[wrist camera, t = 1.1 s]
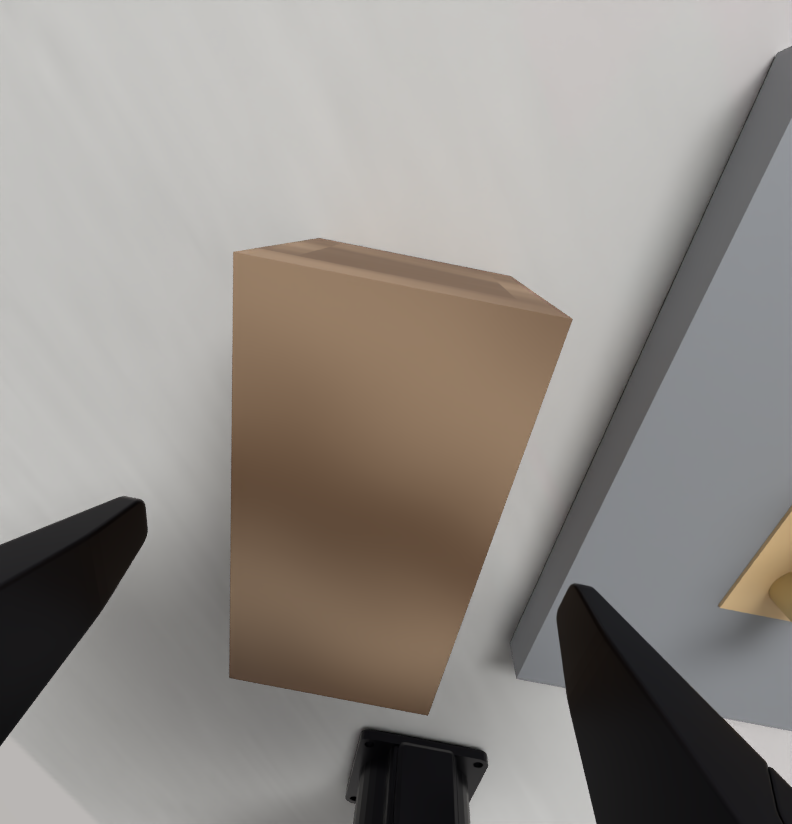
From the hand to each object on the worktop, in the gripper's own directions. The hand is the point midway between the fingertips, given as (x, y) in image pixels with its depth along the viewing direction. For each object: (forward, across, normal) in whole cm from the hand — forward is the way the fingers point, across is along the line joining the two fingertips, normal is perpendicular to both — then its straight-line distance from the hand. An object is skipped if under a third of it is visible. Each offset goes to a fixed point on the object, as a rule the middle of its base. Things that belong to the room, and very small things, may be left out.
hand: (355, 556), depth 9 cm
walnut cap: (+6, 0, 0) cm, 6 cm away
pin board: (+6, -14, -1) cm, 15 cm away
